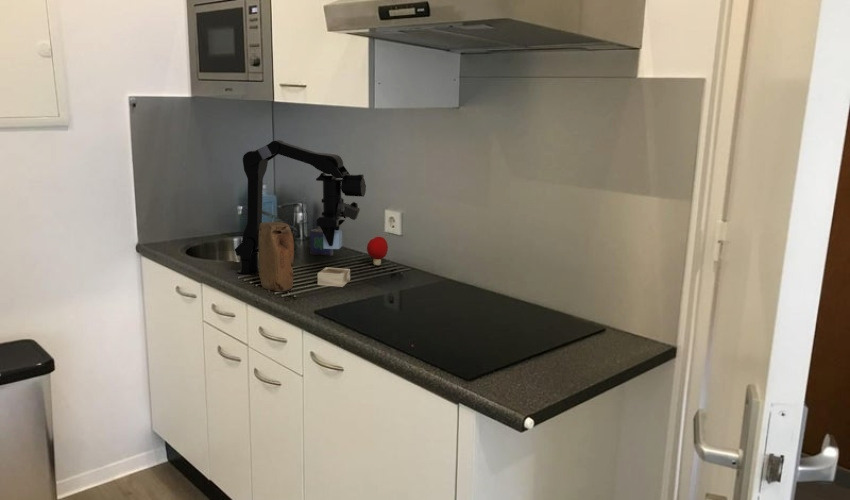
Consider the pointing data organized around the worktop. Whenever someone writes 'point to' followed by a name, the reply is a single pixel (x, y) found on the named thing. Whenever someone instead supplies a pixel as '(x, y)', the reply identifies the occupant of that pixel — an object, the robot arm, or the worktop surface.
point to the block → (276, 256)
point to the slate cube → (337, 241)
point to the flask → (318, 244)
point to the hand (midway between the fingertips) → (332, 244)
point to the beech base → (334, 277)
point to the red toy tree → (377, 249)
